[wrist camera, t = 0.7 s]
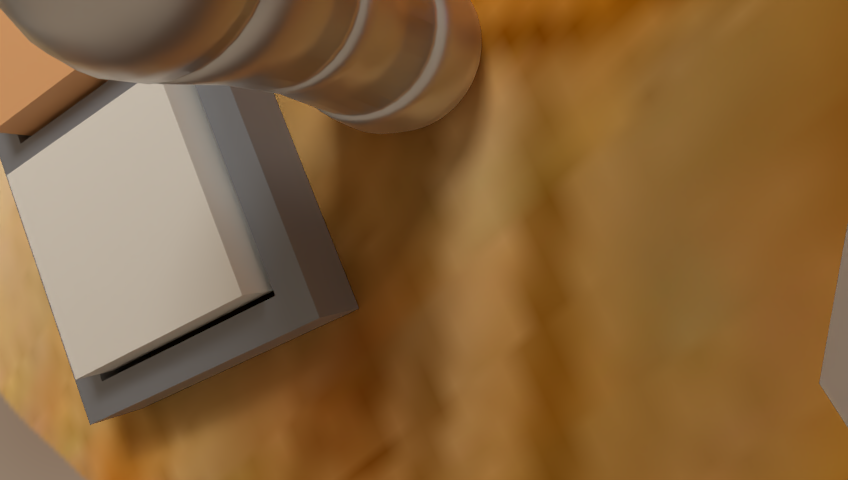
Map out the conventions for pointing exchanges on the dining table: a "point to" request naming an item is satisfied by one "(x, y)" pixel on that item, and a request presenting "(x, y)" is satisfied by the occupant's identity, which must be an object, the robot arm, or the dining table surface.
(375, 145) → the dining table surface
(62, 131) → the keypad frame
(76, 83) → the orange key
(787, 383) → the dining table surface
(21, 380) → the dining table surface
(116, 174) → the pale key
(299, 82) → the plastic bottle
